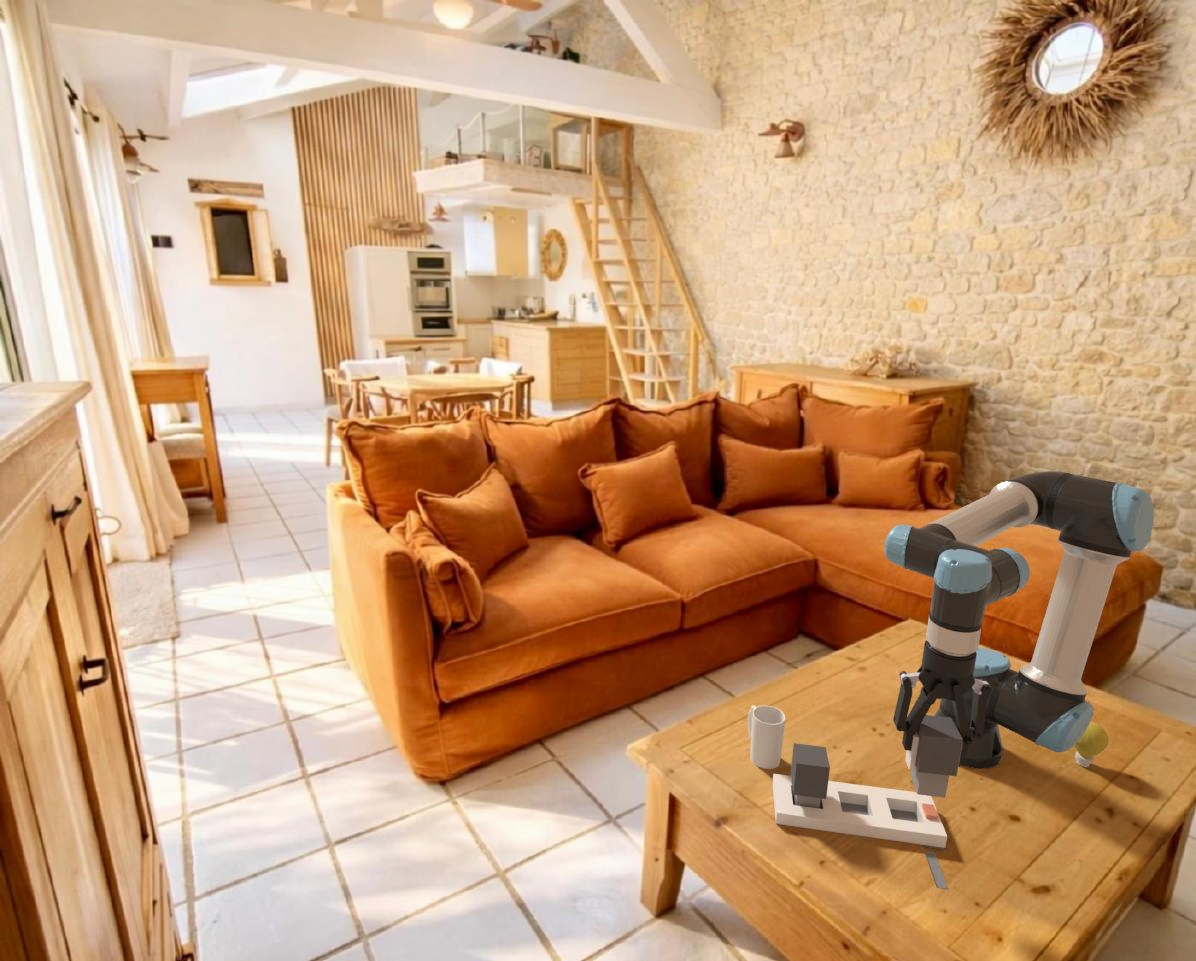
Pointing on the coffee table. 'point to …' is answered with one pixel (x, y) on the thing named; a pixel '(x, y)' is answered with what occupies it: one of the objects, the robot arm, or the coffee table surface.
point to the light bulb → (1090, 744)
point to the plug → (936, 755)
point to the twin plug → (809, 775)
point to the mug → (766, 735)
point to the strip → (864, 813)
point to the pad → (936, 870)
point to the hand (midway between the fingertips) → (930, 767)
